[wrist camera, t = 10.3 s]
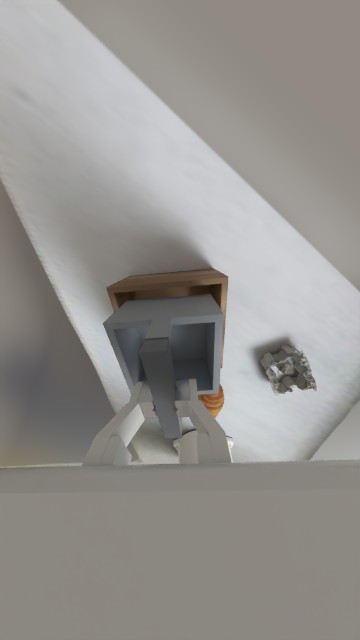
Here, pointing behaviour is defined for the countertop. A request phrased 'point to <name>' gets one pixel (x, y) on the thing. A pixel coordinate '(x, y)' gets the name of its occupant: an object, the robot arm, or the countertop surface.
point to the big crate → (172, 288)
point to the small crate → (168, 348)
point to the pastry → (213, 401)
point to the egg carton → (288, 370)
